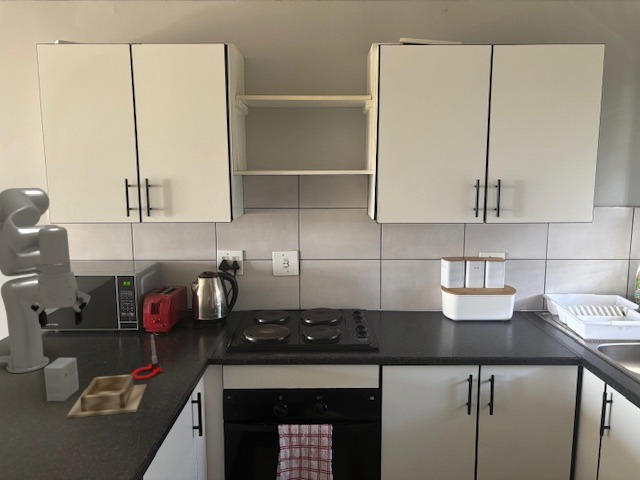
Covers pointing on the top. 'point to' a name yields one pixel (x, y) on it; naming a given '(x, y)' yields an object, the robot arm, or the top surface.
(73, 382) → the small box
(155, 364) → the tow hook
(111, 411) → the well
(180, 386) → the top surface
